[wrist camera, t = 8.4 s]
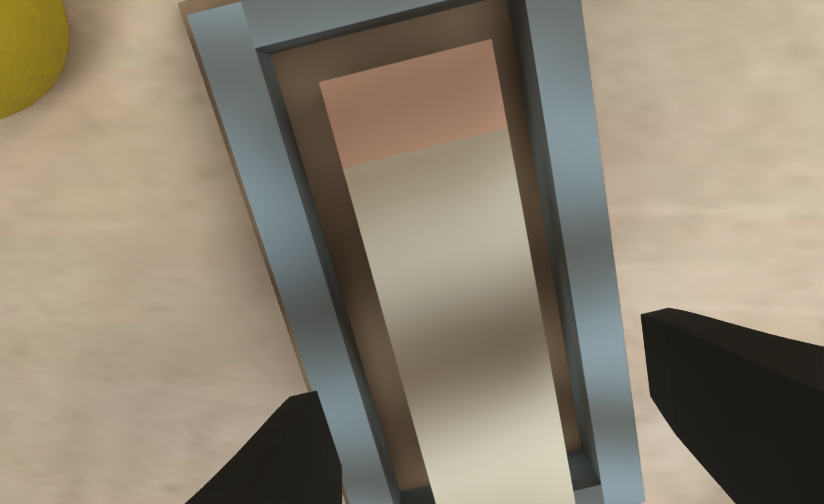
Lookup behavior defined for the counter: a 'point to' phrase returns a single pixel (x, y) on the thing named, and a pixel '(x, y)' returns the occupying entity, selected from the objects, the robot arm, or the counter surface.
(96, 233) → the counter surface
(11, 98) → the lemon
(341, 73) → the tray
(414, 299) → the two-tone wooden block
